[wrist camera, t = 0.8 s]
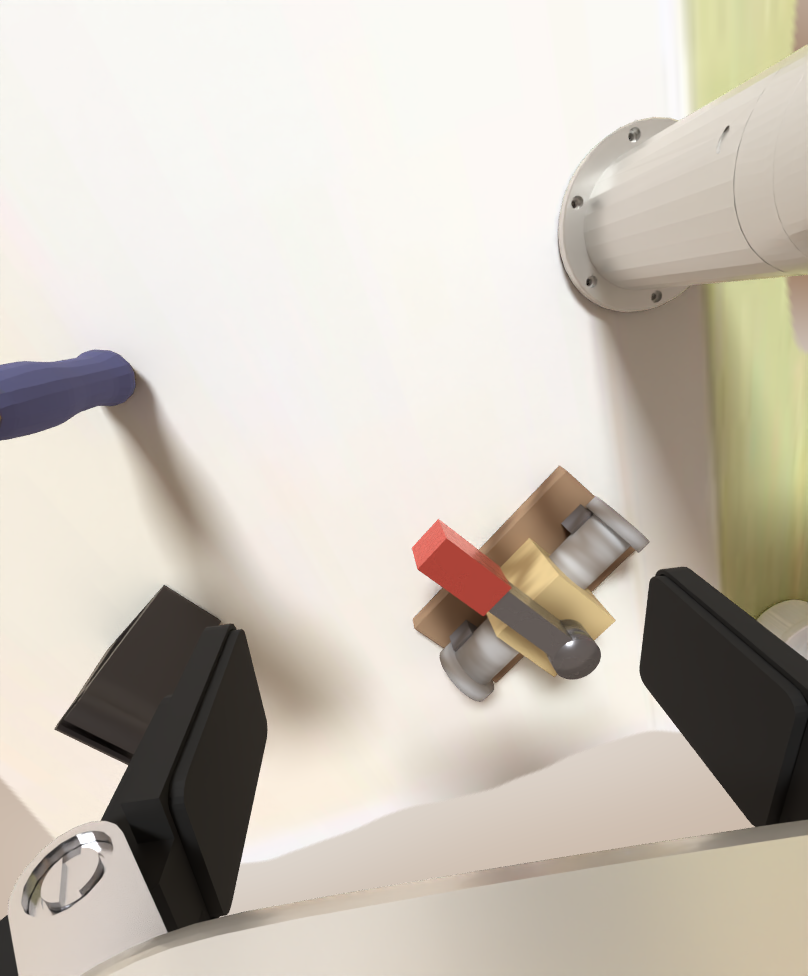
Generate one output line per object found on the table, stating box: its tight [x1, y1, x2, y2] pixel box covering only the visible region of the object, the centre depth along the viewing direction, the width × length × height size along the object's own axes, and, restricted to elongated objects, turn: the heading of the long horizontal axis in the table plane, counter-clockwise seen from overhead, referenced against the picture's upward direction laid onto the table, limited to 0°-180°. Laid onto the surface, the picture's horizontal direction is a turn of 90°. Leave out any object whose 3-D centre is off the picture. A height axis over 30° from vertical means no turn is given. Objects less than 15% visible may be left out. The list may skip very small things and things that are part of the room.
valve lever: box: [412, 519, 601, 679], centre depth 34 cm, size 16×4×3 cm, turn 49°
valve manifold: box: [413, 466, 649, 702], centre depth 41 cm, size 20×11×9 cm, turn 139°
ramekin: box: [756, 600, 808, 660], centre depth 49 cm, size 9×9×4 cm
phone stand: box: [55, 585, 221, 765], centre depth 38 cm, size 9×6×12 cm, turn 137°
